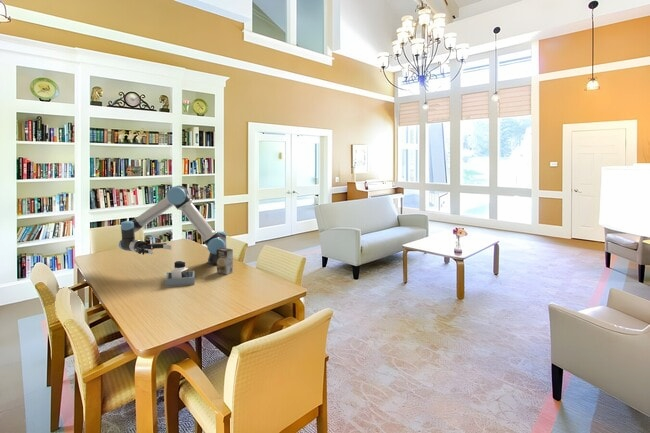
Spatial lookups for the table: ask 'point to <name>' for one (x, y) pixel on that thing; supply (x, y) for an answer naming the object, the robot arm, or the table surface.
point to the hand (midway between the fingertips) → (162, 249)
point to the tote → (180, 280)
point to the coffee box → (224, 261)
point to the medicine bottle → (180, 270)
